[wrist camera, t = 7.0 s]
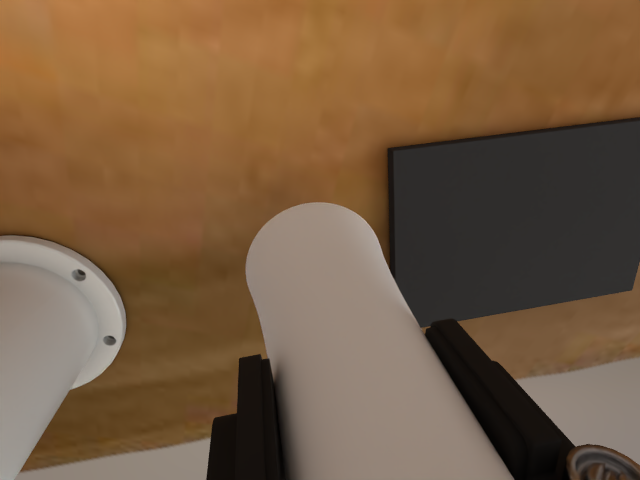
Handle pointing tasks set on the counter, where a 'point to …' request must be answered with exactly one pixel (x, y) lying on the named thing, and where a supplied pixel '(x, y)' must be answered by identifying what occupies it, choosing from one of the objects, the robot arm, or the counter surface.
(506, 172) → the mat
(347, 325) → the cosmetic bottle
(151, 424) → the counter surface
